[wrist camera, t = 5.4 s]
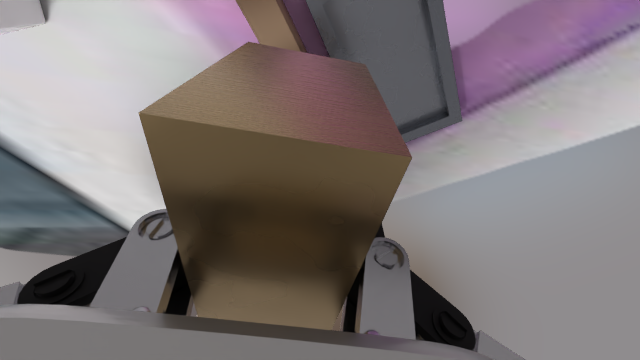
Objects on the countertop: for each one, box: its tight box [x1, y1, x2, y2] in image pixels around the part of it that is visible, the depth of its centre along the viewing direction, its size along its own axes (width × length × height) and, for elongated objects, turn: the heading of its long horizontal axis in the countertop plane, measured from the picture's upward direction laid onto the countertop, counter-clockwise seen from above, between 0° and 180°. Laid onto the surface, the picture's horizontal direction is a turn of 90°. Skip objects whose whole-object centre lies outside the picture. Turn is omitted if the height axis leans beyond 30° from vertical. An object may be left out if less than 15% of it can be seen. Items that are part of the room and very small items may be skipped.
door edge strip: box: [236, 0, 307, 53], centre depth 22 cm, size 20×2×3 cm, turn 26°
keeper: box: [306, 0, 462, 142], centre depth 22 cm, size 15×9×2 cm, turn 26°
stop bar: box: [139, 42, 412, 330], centre depth 9 cm, size 4×10×6 cm, turn 170°
